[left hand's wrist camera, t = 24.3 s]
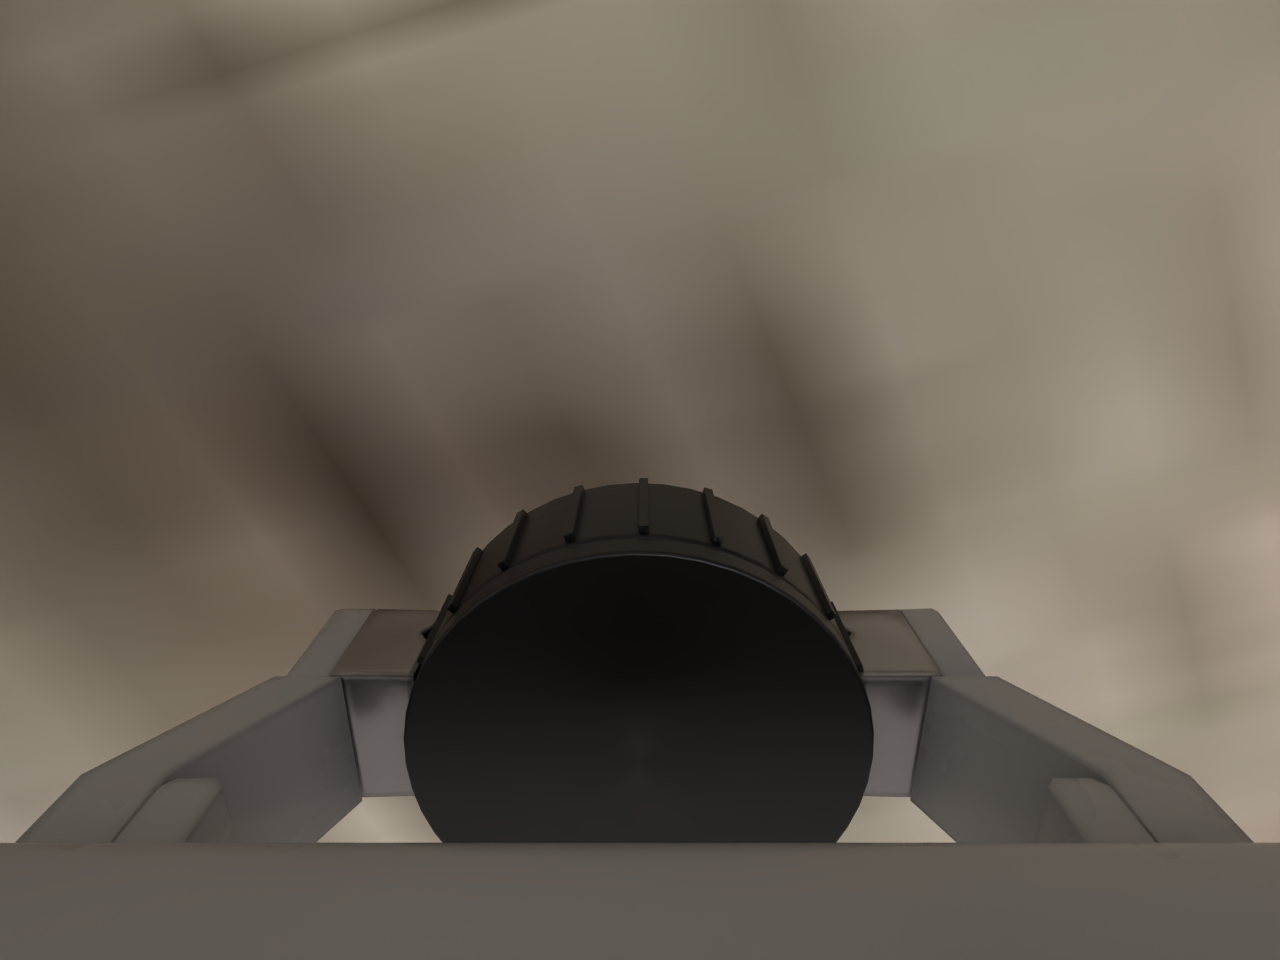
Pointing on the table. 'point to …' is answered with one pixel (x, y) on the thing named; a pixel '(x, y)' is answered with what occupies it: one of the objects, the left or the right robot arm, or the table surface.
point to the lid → (639, 682)
